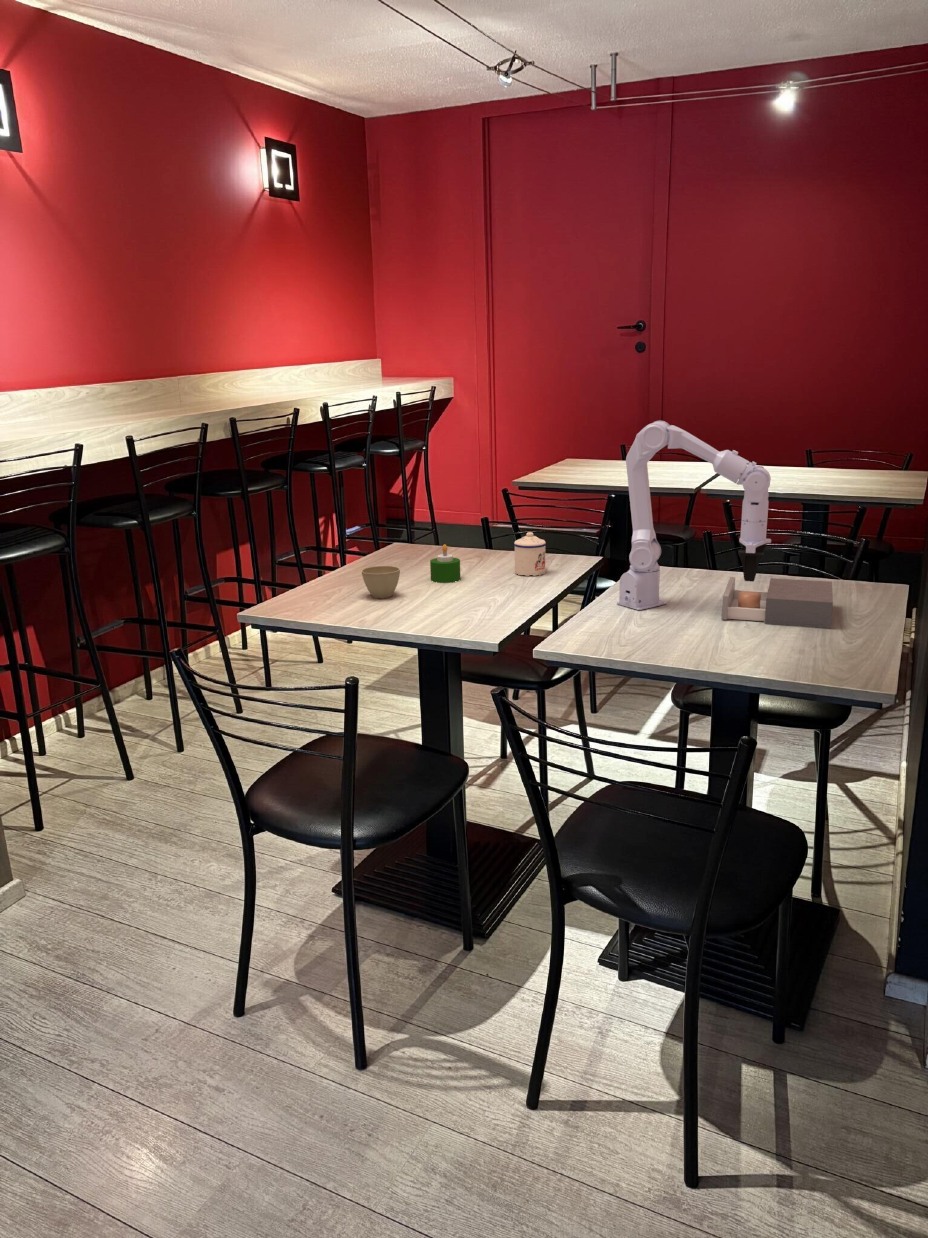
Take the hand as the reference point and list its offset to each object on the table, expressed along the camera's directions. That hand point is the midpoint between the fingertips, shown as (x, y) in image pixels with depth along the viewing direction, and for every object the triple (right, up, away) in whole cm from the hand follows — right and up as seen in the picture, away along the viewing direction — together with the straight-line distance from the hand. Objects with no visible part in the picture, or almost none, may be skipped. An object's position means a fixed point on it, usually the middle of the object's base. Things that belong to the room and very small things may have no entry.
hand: (750, 577), depth 221 cm
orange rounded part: (0, -7, +2) cm, 8 cm away
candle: (-73, +1, +40) cm, 83 cm away
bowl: (-89, -4, +24) cm, 92 cm away
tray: (+1, -8, +2) cm, 8 cm away
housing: (+10, -9, -1) cm, 13 cm away
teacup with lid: (-48, +3, +47) cm, 67 cm away
